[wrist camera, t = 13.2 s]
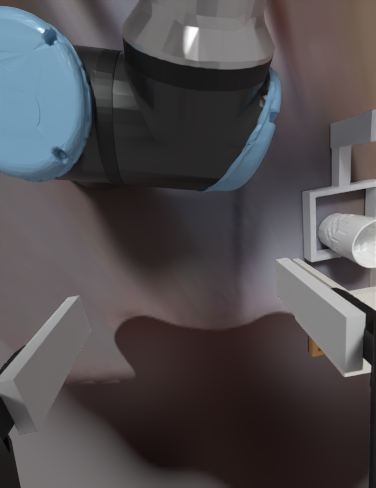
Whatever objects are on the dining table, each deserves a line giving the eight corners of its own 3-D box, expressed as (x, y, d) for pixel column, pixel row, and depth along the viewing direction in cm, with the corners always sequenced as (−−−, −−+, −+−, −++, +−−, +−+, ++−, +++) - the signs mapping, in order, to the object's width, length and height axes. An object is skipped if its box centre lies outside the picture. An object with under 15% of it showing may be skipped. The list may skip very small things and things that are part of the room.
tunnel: (292, 259, 47) (346, 296, 32) (377, 243, 47) (470, 274, 32) (295, 319, 51) (344, 377, 36) (373, 304, 51) (454, 356, 36)
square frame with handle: (300, 129, 40) (334, 116, 31) (375, 115, 40) (428, 100, 32) (304, 257, 46) (332, 275, 38) (368, 246, 47) (410, 261, 38)
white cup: (352, 246, 47) (398, 265, 37) (313, 251, 47) (350, 271, 37) (356, 207, 45) (406, 215, 35) (315, 212, 44) (354, 222, 35)
